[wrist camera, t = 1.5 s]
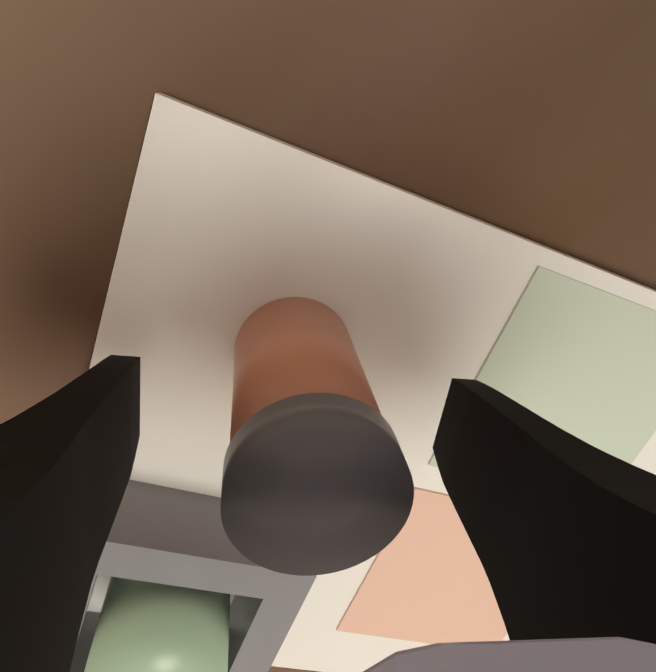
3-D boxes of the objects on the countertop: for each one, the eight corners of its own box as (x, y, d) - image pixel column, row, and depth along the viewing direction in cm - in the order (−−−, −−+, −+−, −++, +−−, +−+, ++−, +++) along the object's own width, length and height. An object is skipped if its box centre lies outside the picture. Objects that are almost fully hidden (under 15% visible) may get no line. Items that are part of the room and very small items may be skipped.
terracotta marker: (372, 314, 14) (446, 451, 9) (327, 415, 16) (369, 587, 10) (253, 276, 14) (256, 403, 8) (215, 386, 15) (196, 559, 9)
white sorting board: (765, 333, 18) (866, 382, 15) (504, 674, 24) (539, 755, 21) (161, 92, 12) (134, 94, 9) (33, 616, 19) (-7, 713, 16)
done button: (246, 558, 17) (245, 649, 14) (211, 637, 18) (205, 734, 15) (122, 538, 16) (96, 631, 13) (96, 623, 17) (67, 724, 14)
